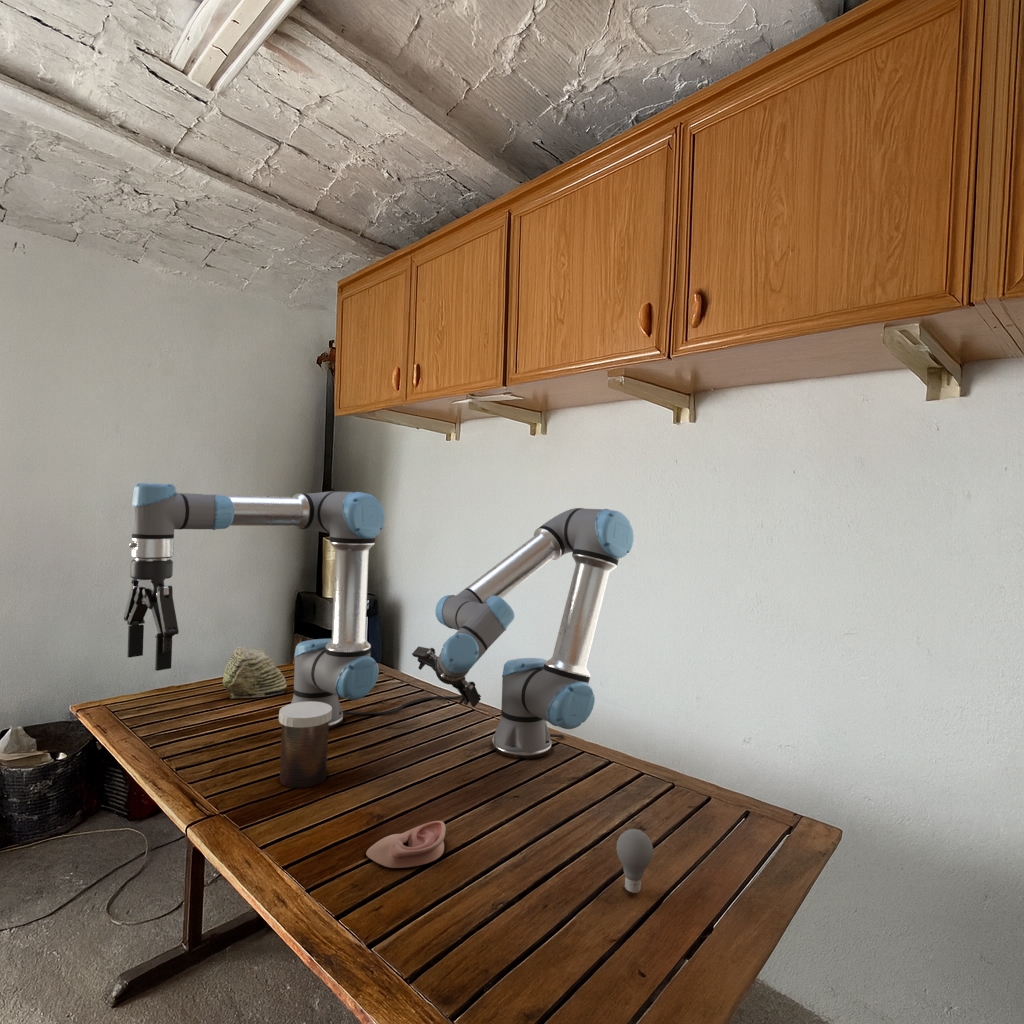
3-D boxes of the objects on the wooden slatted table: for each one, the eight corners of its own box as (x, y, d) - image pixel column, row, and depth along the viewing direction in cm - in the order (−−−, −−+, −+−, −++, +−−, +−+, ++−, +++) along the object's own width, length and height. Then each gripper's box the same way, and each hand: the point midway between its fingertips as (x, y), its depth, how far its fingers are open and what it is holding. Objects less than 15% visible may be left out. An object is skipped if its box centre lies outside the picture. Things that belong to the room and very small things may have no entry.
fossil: (218, 695, 195) (220, 647, 195) (278, 685, 208) (279, 640, 207) (228, 703, 189) (230, 653, 188) (289, 692, 201) (290, 645, 201)
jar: (314, 764, 149) (316, 701, 149) (334, 779, 142) (337, 713, 142) (272, 776, 142) (274, 709, 142) (291, 792, 135) (294, 722, 135)
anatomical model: (359, 840, 110) (385, 809, 121) (358, 862, 110) (384, 829, 121) (431, 852, 107) (451, 819, 119) (431, 875, 107) (451, 840, 119)
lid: (317, 707, 150) (317, 698, 150) (340, 720, 142) (341, 711, 142) (270, 716, 142) (270, 707, 142) (292, 731, 134) (292, 721, 134)
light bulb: (610, 879, 108) (613, 822, 108) (644, 879, 109) (647, 822, 109) (619, 902, 102) (622, 840, 102) (655, 901, 103) (658, 840, 103)
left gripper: (108, 554, 134) (104, 654, 134) (159, 565, 118) (155, 678, 119) (146, 552, 140) (143, 648, 140) (199, 563, 124) (195, 671, 124)
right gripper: (400, 642, 145) (396, 662, 163) (484, 714, 142) (470, 725, 160) (422, 618, 148) (415, 640, 167) (504, 687, 145) (488, 702, 164)
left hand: (148, 662), depth 129 cm, fingers open, 13 cm apart
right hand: (442, 682), depth 164 cm, fingers open, 13 cm apart
